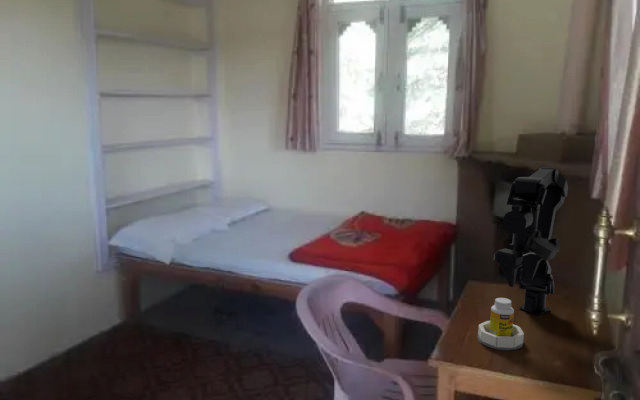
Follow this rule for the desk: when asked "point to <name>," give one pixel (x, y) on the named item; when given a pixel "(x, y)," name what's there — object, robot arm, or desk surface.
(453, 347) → the desk surface
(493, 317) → the supplement bottle
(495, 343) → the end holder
